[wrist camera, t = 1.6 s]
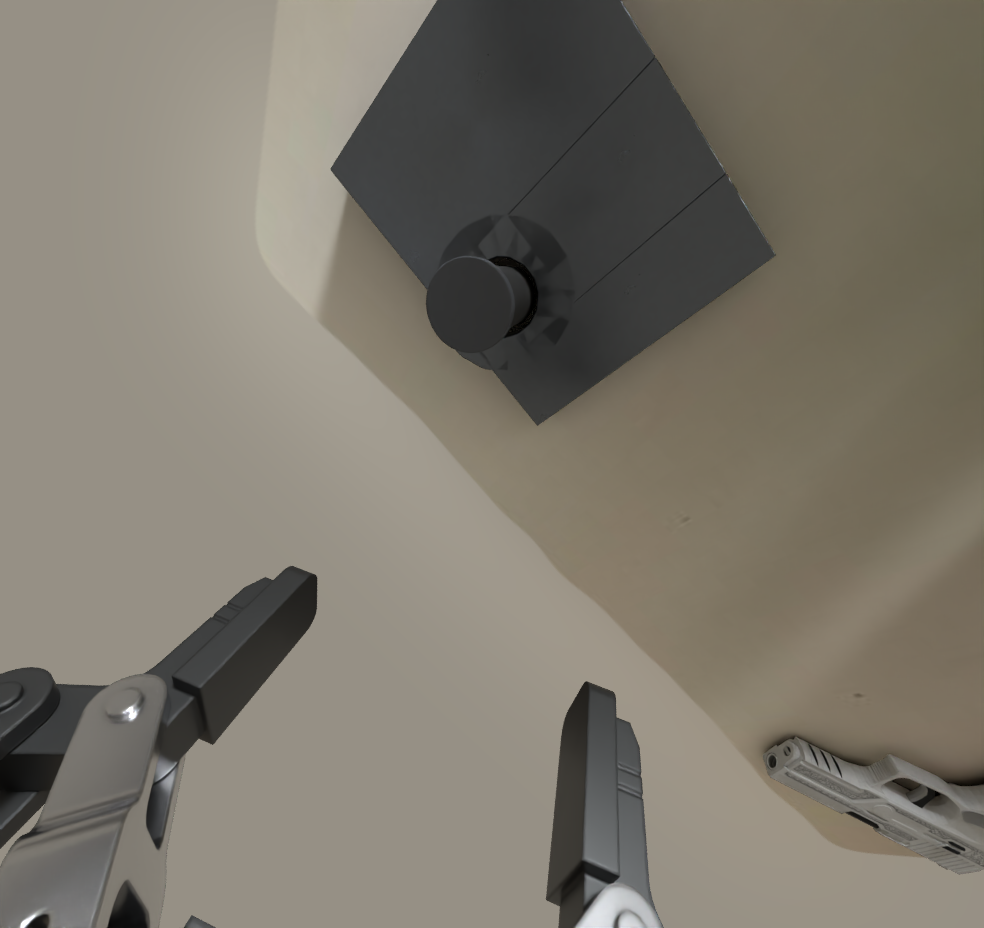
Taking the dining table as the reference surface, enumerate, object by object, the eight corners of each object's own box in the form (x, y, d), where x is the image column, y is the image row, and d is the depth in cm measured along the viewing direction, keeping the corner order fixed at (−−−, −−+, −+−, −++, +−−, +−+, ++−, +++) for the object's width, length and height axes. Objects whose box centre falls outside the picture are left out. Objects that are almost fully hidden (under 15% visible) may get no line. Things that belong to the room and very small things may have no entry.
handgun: (889, 706, 26) (767, 785, 32) (1158, 836, 25) (982, 896, 31) (866, 671, 29) (756, 750, 34) (1110, 788, 27) (955, 851, 33)
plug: (465, 292, 24) (408, 301, 17) (512, 245, 22) (470, 233, 15) (505, 343, 25) (465, 370, 18) (553, 300, 23) (530, 312, 16)
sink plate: (340, 191, 24) (319, 184, 22) (538, -106, 17) (530, -149, 15) (530, 424, 27) (524, 435, 25) (761, 256, 20) (776, 255, 18)
